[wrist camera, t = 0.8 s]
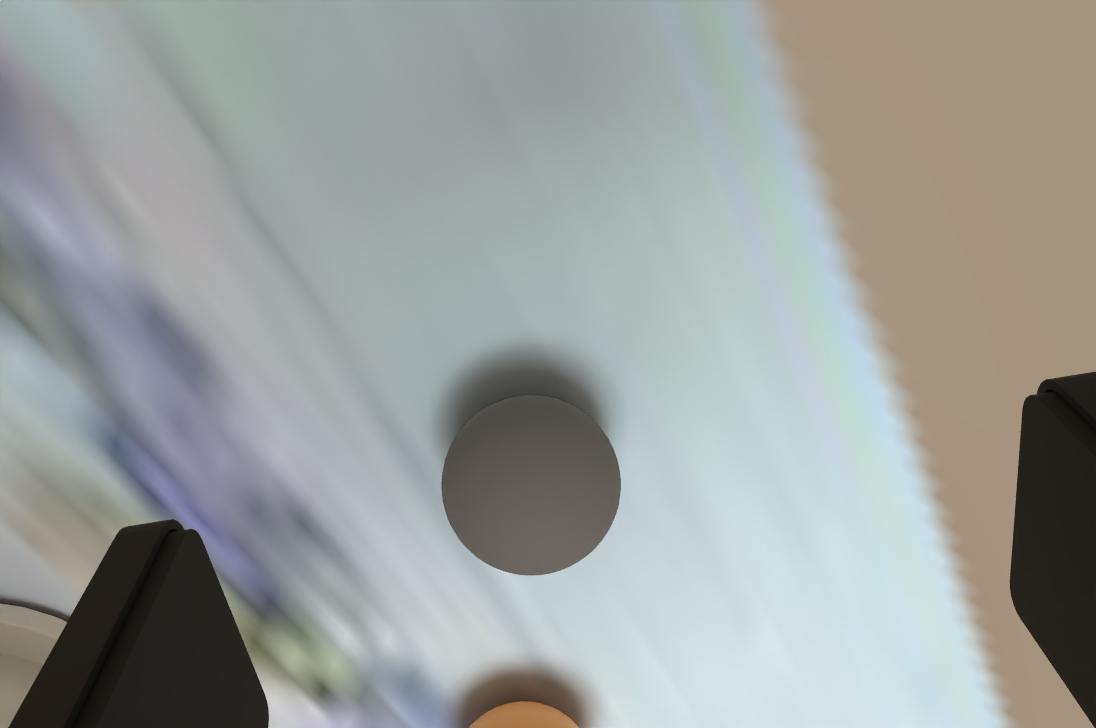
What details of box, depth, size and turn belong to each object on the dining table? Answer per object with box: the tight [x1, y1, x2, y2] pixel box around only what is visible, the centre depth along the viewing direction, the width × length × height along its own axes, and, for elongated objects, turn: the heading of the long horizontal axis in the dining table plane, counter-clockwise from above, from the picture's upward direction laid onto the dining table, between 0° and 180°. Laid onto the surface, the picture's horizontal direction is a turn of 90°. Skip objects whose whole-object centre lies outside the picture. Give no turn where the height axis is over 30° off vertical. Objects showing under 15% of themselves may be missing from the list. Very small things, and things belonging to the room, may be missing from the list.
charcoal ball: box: [442, 395, 621, 575], centre depth 33 cm, size 6×6×6 cm
